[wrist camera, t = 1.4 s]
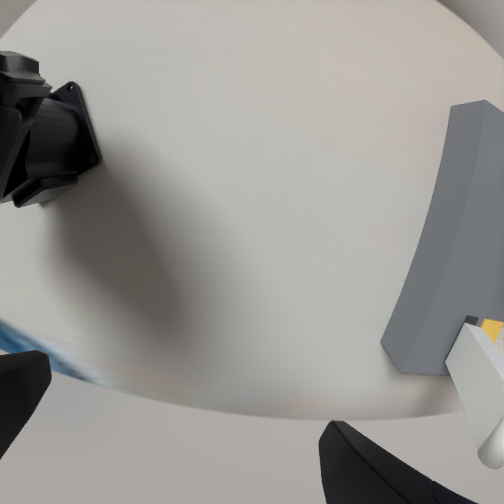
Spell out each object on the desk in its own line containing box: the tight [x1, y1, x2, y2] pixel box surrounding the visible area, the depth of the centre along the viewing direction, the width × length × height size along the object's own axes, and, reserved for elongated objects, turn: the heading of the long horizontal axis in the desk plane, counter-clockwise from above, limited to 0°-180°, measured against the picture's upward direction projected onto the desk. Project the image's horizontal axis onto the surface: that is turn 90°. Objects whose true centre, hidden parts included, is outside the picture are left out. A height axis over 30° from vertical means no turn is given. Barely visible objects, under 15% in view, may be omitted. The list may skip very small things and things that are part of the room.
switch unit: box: [380, 100, 504, 376], centre depth 18 cm, size 8×18×4 cm, turn 166°
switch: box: [445, 323, 504, 469], centre depth 12 cm, size 2×3×10 cm, turn 167°
